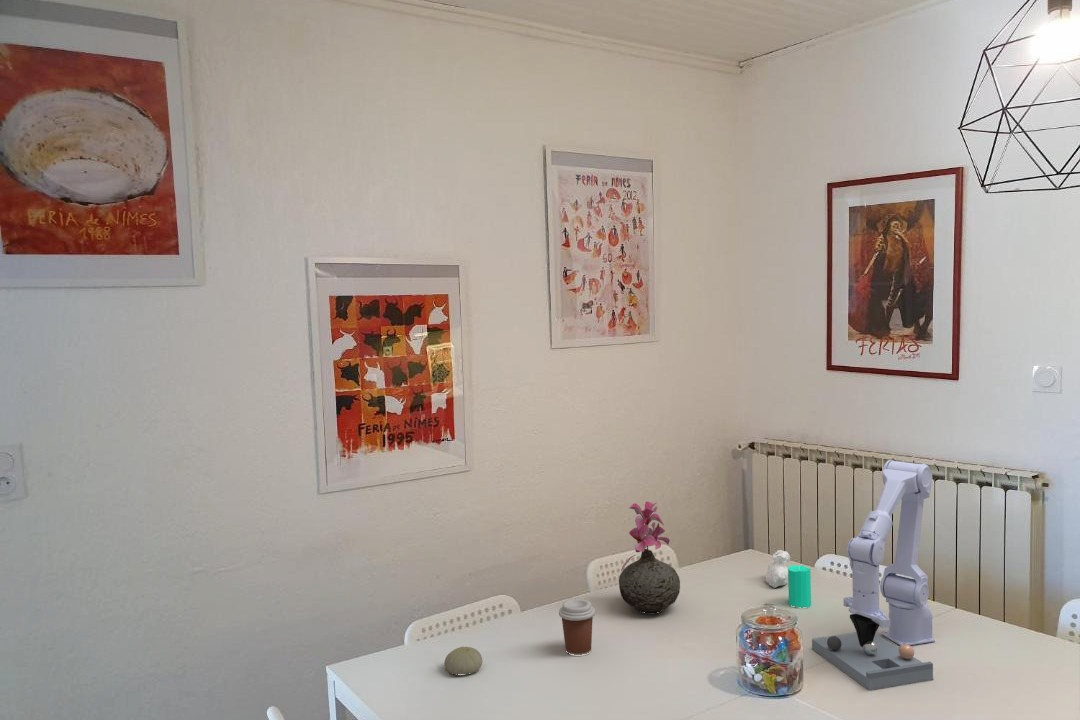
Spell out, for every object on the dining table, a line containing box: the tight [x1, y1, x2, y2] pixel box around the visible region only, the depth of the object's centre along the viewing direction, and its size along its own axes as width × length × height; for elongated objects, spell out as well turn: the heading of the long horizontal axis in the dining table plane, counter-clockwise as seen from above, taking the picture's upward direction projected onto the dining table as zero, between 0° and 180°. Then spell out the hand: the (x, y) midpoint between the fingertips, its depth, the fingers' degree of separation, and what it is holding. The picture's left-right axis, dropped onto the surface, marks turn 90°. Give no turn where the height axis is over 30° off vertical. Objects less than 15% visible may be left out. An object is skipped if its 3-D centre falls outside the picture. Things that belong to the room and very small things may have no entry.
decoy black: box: [827, 635, 842, 650], centre depth 183 cm, size 3×3×3 cm
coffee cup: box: [558, 598, 596, 655], centre depth 194 cm, size 9×9×12 cm
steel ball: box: [863, 641, 878, 655], centre depth 180 cm, size 3×3×3 cm
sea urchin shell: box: [444, 646, 483, 675], centre depth 187 cm, size 9×8×8 cm
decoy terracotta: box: [898, 644, 915, 659], centre depth 177 cm, size 3×3×3 cm
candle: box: [787, 564, 812, 608], centre depth 217 cm, size 6×6×12 cm
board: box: [811, 632, 934, 691], centre depth 181 cm, size 16×22×4 cm
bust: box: [764, 549, 791, 589], centre depth 235 cm, size 12×8×11 cm
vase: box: [618, 500, 681, 614], centre depth 218 cm, size 17×18×30 cm
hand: (866, 646), depth 181 cm, fingers closed, pressing on steel ball
